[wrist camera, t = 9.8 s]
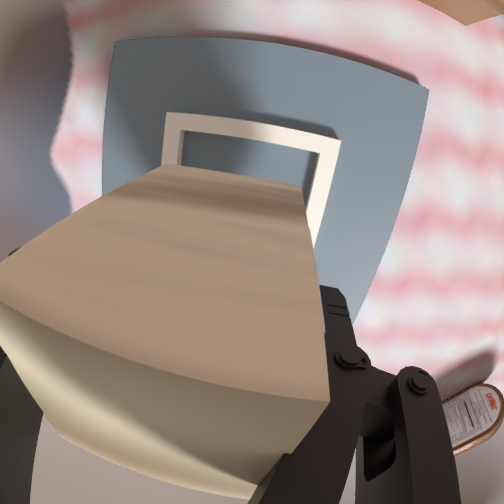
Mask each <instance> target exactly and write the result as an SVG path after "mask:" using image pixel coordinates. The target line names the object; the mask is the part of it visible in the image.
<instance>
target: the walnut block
mask: <svg viewBox="0 0 504 504" xmlns="http://www.w3.org/2000/svg"><path fill="white" fill-rule="evenodd" d="M418 1H421V2H423V3H425V4H427V5H429V6H431V7H433V8H435V9H437V10H439V11H441V12H442V13H444V14H446V15H448V16H450V17H452V18H453V19H455V20H457V21H459V22H460V23H462V24H464V25H465V26H467V25H469V24H472V23H475V22H478V21H481V20H484V19H488V18H491V17H494V16H498V15H501V14H504V0H418Z"/></svg>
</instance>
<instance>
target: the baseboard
mask: <svg viewBox="0 0 504 504" xmlns="http://www.w3.org/2000/svg"><path fill="white" fill-rule="evenodd" d="M428 95H429V89H427V88H425V87H423V86H421V85H418V84H416V83H414V82H411V81H409V80H407V79H404V78H402V77H399V76H397V75H394V74H391V73H389V72H386V71H383V70H380V69H377V68H374V67H372V66H369V65H365V64H362V63H359V62H356V61H352V60H349V59H346V58H342V57H338V56H334V55H331V54H327V53H322V52H318V51H314V50H309V49H304V48H299V47H294V46H289V45H283V44H277V43H270V42H263V41H255V40H246V39H235V38H220V37H156V38H142V39H131V40H122V41H115V46H114V51H113V57H112V63H111V69H110V75H109V83H108V90H107V99H106V109H105V121H104V135H103V160H102V196H104V195H106V194H107V193H109V192H111V191H113V190H115V189H117V188H118V187H120V186H122V185H124V184H126V183H128V182H130V181H132V180H134V179H136V178H138V177H140V176H142V175H144V174H146V173H148V172H150V171H152V170H154V169H156V168H158V167H160V166H161V161H162V150H163V139H164V130H165V121H166V113H167V112H179V113H191V114H201V115H211V116H219V117H227V118H234V119H241V120H248V121H254V122H260V123H266V124H271V125H277V126H282V127H287V128H292V129H297V130H301V131H306V132H310V133H315V134H319V135H323V136H327V137H331V138H335V139H339V140H341V145H340V149H339V153H338V157H337V162H336V166H335V170H334V174H333V178H332V182H331V186H330V190H329V194H328V198H327V202H326V205H325V209H324V213H323V217H322V220H321V224H320V227H319V231H318V235H317V238H316V242H315V245H314V255H315V261H316V268H317V274H318V281H319V285H324V286H329V287H334V288H338V289H339V290H340V292H341V293H342V294H343V295H344V297H345V298H346V302H347V306H348V310H349V314H350V318H351V322H352V325H353V323H354V321H355V319H356V316H357V314H358V312H359V310H360V308H361V306H362V304H363V301H364V299H365V297H366V295H367V292H368V290H369V288H370V286H371V283H372V281H373V278H374V276H375V274H376V271H377V269H378V266H379V264H380V261H381V259H382V256H383V254H384V251H385V249H386V246H387V243H388V241H389V238H390V235H391V232H392V230H393V227H394V224H395V221H396V218H397V215H398V212H399V209H400V206H401V203H402V200H403V197H404V194H405V190H406V187H407V184H408V180H409V177H410V173H411V170H412V166H413V162H414V159H415V155H416V151H417V147H418V143H419V139H420V134H421V130H422V125H423V121H424V116H425V111H426V106H427V100H428ZM317 157H318V153H316V152H312V151H308V150H303V149H299V148H294V147H289V146H284V145H279V144H274V143H269V142H263V141H258V140H252V139H246V138H240V137H233V136H226V135H219V134H212V133H204V132H195V131H186V130H185V132H184V141H183V150H182V159H181V166H187V167H194V168H201V169H207V170H214V171H220V172H226V173H232V174H237V175H243V176H249V177H254V178H259V179H265V180H270V181H275V182H280V183H285V184H289V185H294V186H299V187H301V188H302V193H303V199H304V204H305V208H306V204H307V200H308V196H309V192H310V187H311V183H312V179H313V174H314V170H315V166H316V161H317Z"/></svg>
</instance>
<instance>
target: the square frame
mask: <svg viewBox="0 0 504 504" xmlns="http://www.w3.org/2000/svg"><path fill="white" fill-rule="evenodd" d="M185 130H186V131H195V132H204V133H212V134H219V135H226V136H233V137H240V138H246V139H252V140H258V141H263V142H269V143H274V144H279V145H284V146H289V147H294V148H299V149H303V150H308V151H312V152H316V153H318V157H317V161H316V166H315V170H314V174H313V179H312V183H311V187H310V192H309V196H308V200H307V204H306V208H305V209H306V215H307V221H308V226H309V228H310V232H311V238H312V243H313V249H314V245H315V242H316V238H317V235H318V231H319V227H320V224H321V220H322V217H323V213H324V209H325V205H326V202H327V198H328V194H329V190H330V186H331V182H332V178H333V174H334V170H335V166H336V162H337V157H338V153H339V149H340V145H341V140H339V139H335V138H331V137H327V136H323V135H319V134H315V133H310V132H306V131H301V130H297V129H292V128H287V127H282V126H277V125H271V124H266V123H260V122H254V121H248V120H241V119H234V118H227V117H219V116H211V115H201V114H191V113H179V112H167V113H166V121H165V130H164V139H163V150H162V161H161V166H163V165H165V164H172V165H180V166H181V159H182V150H183V141H184V132H185Z"/></svg>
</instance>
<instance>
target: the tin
mask: <svg viewBox="0 0 504 504" xmlns="http://www.w3.org/2000/svg"><path fill="white" fill-rule="evenodd" d="M442 406H443V410H444V414H445V417H446V421H447V425H448V430H449V434H450V438H451V443H452V448H453V453H454V457H456V456H458V455H460V454H462V453H464V452H466V451H468V450H470V449H472V448H474V447H476V446H478V445H480V444H482V443H484V442H485V441H487V440H488V439H490V438H491V437H492V436H493V435H494V434H495V433H496V432H497V430H498V429H499V427H500V426H501V424H502V421H503V417H504V398H503V395H502V393H501V392H500V391H499V390H498V389H497V388H496V387H495V386H493V385H490V384H477V385H473V386H471V387H469V388H467V389H465V390H463V391H462V392H460V393H458V394H456V395H454V396H452V397H450V398H448V399H447V400H445V401H443V402H442Z"/></svg>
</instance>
